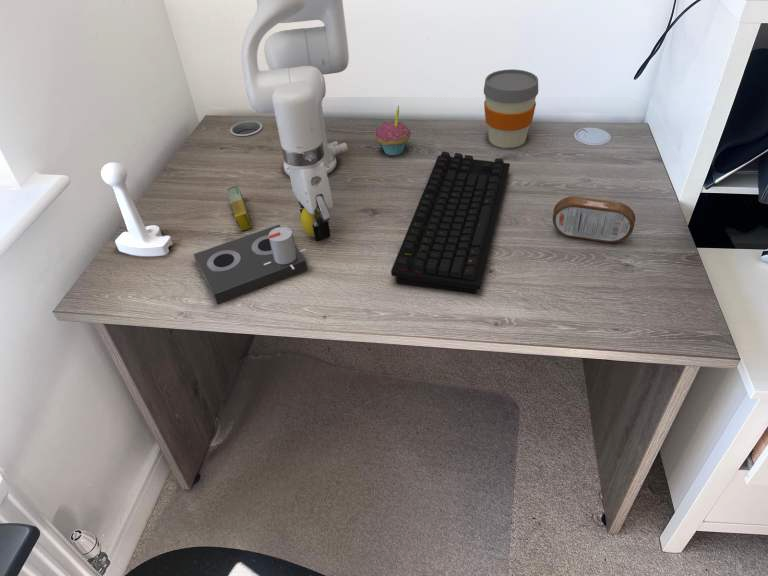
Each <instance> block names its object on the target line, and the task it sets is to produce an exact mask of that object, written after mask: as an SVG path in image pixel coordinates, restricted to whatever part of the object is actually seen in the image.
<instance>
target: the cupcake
mask: <svg viewBox="0 0 768 576" xmlns="http://www.w3.org/2000/svg"><path fill="white" fill-rule="evenodd" d="M399 116H400V105H398V106H397V108H396V110H395V119H394V120H395V121H388V122H386V121H385V122H382V123H381V124H380V125H379V126H378V127H376V128H375V129H376V130H375V132H374V140H375V141H376V142H377V143H378V144H380V146H381V147H382V150H383V152H384V153H385V154H386V155H388V156H398V155H401V154H402V153H403V152H404V150H405V146H406V143H408V141H409V139H410V138H411V133H412V132H411V129H410V128H409V127H408V126H407V125H405V123H404V122H400V121H399Z"/></svg>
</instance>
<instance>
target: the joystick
mask: <svg viewBox="0 0 768 576" xmlns="http://www.w3.org/2000/svg"><path fill="white" fill-rule="evenodd" d="M100 175H101V178H102V180H103V182H104V183H105V184H107V185H108V186H110V187H111V188H112V189H113V193H114V196H115V198H116V201H117V204H118V206H119V209H120V212H121V215H122V218H123V221H124V224H125V226H126V229H127V231H122V233H120V234H119V236H118V237H117V238H116V239H115V240H114V243H115V246H116V247H117V250H118V252H121V253H124V254H127V255H130V256H135V257H160V256H161V257H162V256H166V255H168V254H169V252H170V250H169V247H172V246H173V245H174V243H173V240H172V237H171V236H170V235H163V234H162V232H161V229H160V227H159V226H158V225H156V224H151V225H147V226H145V223H144V221H143V219H142V217H141V216H140V215H141V214H140V213H139V211H138V209H137V207H136V205H135V202H134V200H133V198H132V196H131V194H130V191H129V189H128V187H127V185H126V181H127V179H128V172H127V169H126V167H125V166H124V165H123V164H122V163H119V162H117V161H109V162H107V163H105V164H104V165H103V166H102V168H101V171H100Z"/></svg>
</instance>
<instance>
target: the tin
mask: <svg viewBox="0 0 768 576" xmlns="http://www.w3.org/2000/svg"><path fill="white" fill-rule="evenodd" d="M635 223H636V215H635V212H634V210H633V209H632V208H631V207H630V206H629V205H627V204H626V203H623V202H621V201H616V200H607V199H601V198H600V199H599V198H593V197H586V196H578V195H573V196H567V197H564V198H562V199H560V200H559V201H558V202H556V204H555V205H554V208H553V211H552V224H553V226H554V228H555V230H556V231H557V232H559V234H561V235H563V236H566V237H568V238H573V239H574V238H575V239H582V240H587V241H594V242H595V241H596V242H600V243H601V242H602V243H606V244H616V243H620V242H623V241H625V240H627V239H628V238H629V237H630V236H631V235H632V233H633V231H634V229H635Z"/></svg>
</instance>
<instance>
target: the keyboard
mask: <svg viewBox="0 0 768 576" xmlns="http://www.w3.org/2000/svg"><path fill="white" fill-rule="evenodd" d="M510 167H511V163H509V162H504V158H503V157H502V158H494V161H493V160H492V161H491V160H484V159H475V158H474V157H473V155H470V154H469V155H467V154H465V155H464V156H463V153H460V152H455V153H454V155H453V156H451V154H450V152H448V151H442V152H441V154H440V155H437V157H436V160H435V163H434V165H433V168H432V170H431V172H430V174H429V177H428V180H427V182H426V184H425V187H424V189H423V192H422V194H421V197H420V199H419V200H418V201H419V202H418V204H417V206H416V208H415V211H414V213H413V216H412V218H411V220H410V223H409V226H408V229H407V231H406V233H405V235H404V238H403V240H402V243H401V245H400V248H399V250H398V253H397V255H396V258H395V260H394V263H393V265H392V267H391V270H390V274H391V276H392V277H395V280H396V284H397V285H405V286H411V287H420V288H424V289H425V288H426V289H434V290H442V291H447V292H456V293H462V294H463V293H464V294H469V295H470V294H471V295H477V292H478V290H481V288H482V284H483V279H484V275H485V271H486V267H487V263H488V258H489V255H490V250H491V247H492V246H491V245H492V242H493V238H494V235H495V234H494V233H495V230H496V226H497V221H498V217H499V213H500V208H501V204H502V200H503V197H504V192H505V189H506V184H507V179H508V175H509V171H510Z"/></svg>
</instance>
